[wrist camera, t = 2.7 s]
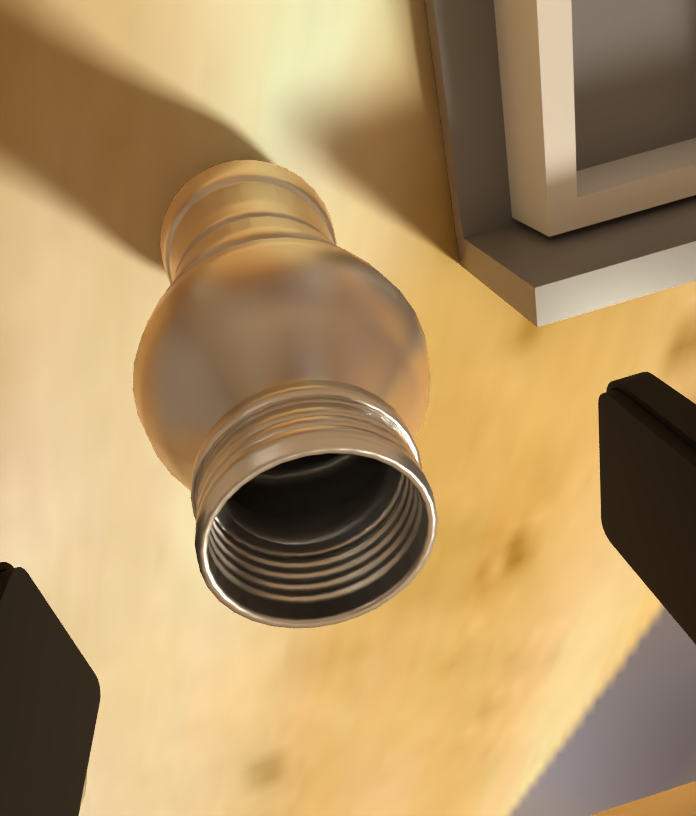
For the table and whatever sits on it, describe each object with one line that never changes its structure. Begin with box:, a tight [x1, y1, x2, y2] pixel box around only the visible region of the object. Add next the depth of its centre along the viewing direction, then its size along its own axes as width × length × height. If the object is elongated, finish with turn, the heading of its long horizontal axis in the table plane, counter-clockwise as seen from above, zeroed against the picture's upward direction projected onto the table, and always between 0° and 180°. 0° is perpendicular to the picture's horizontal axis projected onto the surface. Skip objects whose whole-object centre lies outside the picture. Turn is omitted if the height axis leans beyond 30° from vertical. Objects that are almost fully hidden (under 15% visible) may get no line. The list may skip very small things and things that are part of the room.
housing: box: [425, 0, 696, 327], centre depth 22 cm, size 16×16×8 cm
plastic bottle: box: [133, 160, 438, 628], centre depth 18 cm, size 6×7×20 cm
